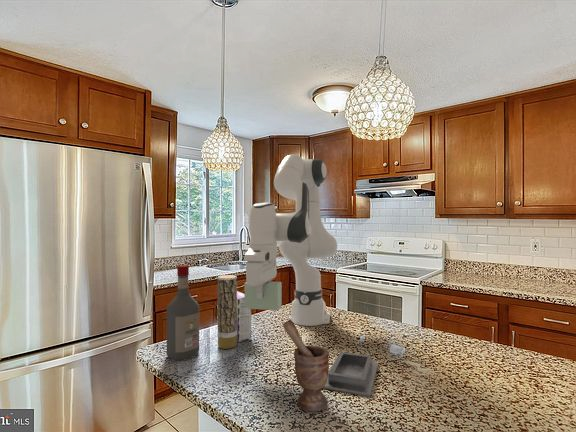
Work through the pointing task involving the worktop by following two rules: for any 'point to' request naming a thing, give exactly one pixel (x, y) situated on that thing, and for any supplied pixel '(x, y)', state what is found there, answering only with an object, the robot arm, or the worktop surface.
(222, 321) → the paper tube
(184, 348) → the liquor
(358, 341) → the worktop surface
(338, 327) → the worktop surface
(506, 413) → the worktop surface
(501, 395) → the worktop surface
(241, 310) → the candy box
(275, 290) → the block
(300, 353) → the mortar and pestle
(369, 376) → the duct collar
